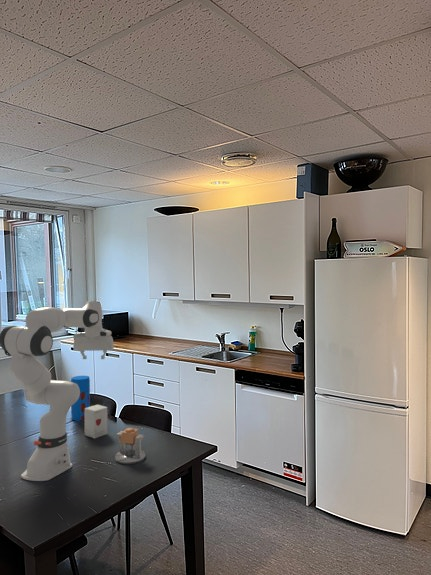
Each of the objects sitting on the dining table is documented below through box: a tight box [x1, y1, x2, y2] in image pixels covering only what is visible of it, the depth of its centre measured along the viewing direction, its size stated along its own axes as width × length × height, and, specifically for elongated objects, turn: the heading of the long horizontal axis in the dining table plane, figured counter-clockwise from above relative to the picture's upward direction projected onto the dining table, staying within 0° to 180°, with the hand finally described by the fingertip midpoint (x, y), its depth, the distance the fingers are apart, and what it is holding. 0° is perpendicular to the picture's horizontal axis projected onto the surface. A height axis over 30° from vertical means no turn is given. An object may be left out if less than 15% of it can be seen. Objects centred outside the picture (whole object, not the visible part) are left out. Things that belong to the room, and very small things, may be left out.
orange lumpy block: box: [117, 427, 143, 444], centre depth 202 cm, size 6×11×6 cm, turn 77°
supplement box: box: [84, 404, 108, 440], centre depth 232 cm, size 9×9×15 cm
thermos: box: [70, 375, 91, 422], centre depth 260 cm, size 11×11×25 cm
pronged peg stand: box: [114, 430, 146, 465], centre depth 202 cm, size 14×14×11 cm
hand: (93, 359), depth 220 cm, fingers open, 8 cm apart
